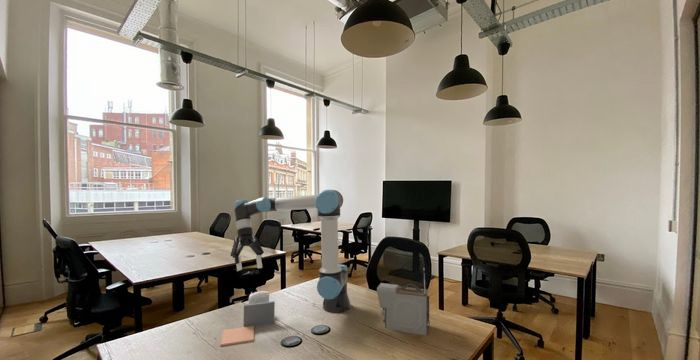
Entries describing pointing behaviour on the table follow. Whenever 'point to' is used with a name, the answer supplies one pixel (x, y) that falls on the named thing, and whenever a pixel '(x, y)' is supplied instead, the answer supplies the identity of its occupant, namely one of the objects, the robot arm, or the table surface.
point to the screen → (259, 314)
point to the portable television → (404, 307)
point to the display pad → (237, 335)
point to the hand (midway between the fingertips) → (250, 269)
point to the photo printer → (259, 297)
